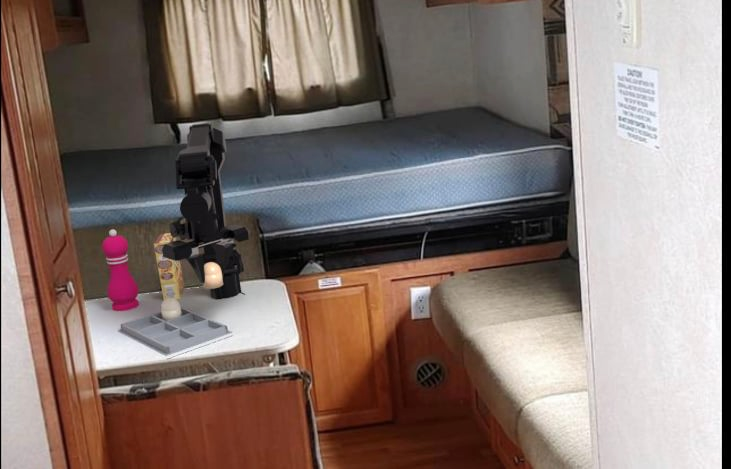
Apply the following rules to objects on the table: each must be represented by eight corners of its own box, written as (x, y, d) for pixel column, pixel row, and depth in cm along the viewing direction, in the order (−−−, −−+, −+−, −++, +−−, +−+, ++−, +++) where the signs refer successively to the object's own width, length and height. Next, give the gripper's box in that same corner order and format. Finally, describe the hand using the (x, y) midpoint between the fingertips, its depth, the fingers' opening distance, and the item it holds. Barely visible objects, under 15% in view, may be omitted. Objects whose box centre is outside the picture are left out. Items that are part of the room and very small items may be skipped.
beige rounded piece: (216, 280, 210) (212, 258, 209) (227, 284, 207) (224, 261, 205) (199, 286, 207) (195, 263, 206) (210, 290, 204) (206, 267, 203)
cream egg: (176, 315, 219) (173, 293, 218) (185, 319, 216) (182, 297, 215) (159, 320, 217) (155, 299, 215) (168, 325, 214) (165, 303, 212)
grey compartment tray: (181, 313, 223) (179, 304, 222) (233, 335, 205) (231, 325, 205) (117, 334, 213) (116, 324, 213) (166, 359, 196) (164, 349, 195)
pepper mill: (133, 314, 226) (119, 233, 220) (105, 315, 227) (90, 234, 222) (146, 303, 232) (132, 224, 227) (118, 304, 234) (105, 226, 229)
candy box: (180, 302, 231) (170, 241, 227) (163, 304, 231) (153, 243, 227) (185, 290, 240) (176, 231, 236) (168, 292, 240) (159, 233, 235)
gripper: (218, 196, 214) (227, 262, 218) (144, 215, 203) (155, 285, 207) (246, 201, 206) (255, 270, 210) (170, 222, 194) (181, 294, 199)
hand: (212, 279), depth 207 cm, fingers closed on beige rounded piece, 4 cm apart
